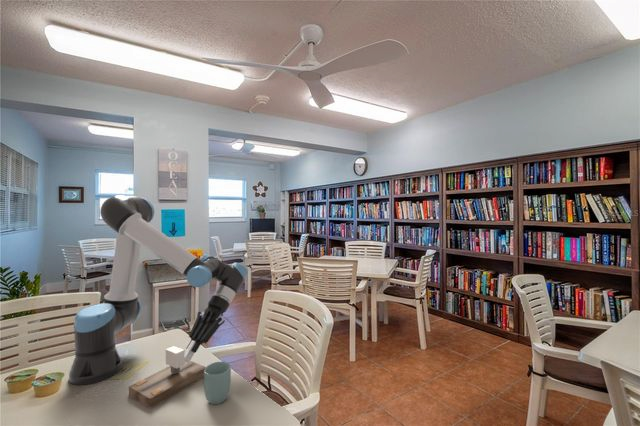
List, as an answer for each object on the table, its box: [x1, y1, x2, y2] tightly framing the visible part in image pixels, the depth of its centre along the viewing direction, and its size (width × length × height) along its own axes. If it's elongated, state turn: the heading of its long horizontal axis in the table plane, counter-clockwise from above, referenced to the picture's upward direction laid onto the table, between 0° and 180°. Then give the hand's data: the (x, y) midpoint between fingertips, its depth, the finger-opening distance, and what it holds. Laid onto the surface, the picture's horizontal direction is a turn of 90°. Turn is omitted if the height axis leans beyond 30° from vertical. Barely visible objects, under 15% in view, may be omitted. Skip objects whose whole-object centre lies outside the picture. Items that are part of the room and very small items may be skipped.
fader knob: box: [165, 345, 185, 374], centre depth 102 cm, size 6×3×8 cm, turn 59°
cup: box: [203, 361, 232, 405], centre depth 92 cm, size 8×8×10 cm
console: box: [128, 360, 207, 409], centre depth 100 cm, size 12×20×3 cm, turn 149°
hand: (184, 360), depth 103 cm, fingers closed
